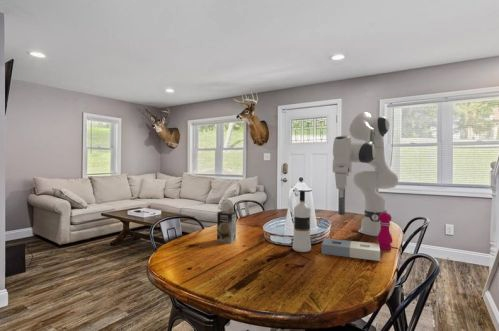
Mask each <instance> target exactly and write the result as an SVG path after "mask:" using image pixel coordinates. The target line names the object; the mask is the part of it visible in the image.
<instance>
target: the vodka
mask: <svg viewBox="0 0 499 331" xmlns="http://www.w3.org/2000/svg"><path fill="white" fill-rule="evenodd" d="M305 192H306V191H305V190H300V191H299V204H296V205H295V206H294V208H293V217H294V218H293V243H292V249H293V250H294V251H295V252H299V253H308V252H310V251H311V250H312V245H311V207H310V206H309V205H308V204H306V200H305V199H306V193H305Z"/></svg>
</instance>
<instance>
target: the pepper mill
mask: <svg viewBox="0 0 499 331" xmlns="http://www.w3.org/2000/svg"><path fill="white" fill-rule="evenodd" d="M383 212H384V213H381V214H380V215H379V220H380V225H381V229H380V232H379V234H378V236H376V241H377V242H378V244H379V246H380V250H385V251H391V249H392V245H391V244H392V243H393V237H392V233H391V231H390V226H391V221H392V215H391V214H390V213H388V211H387V209H385V210H383ZM390 233H391V234H390Z"/></svg>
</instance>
